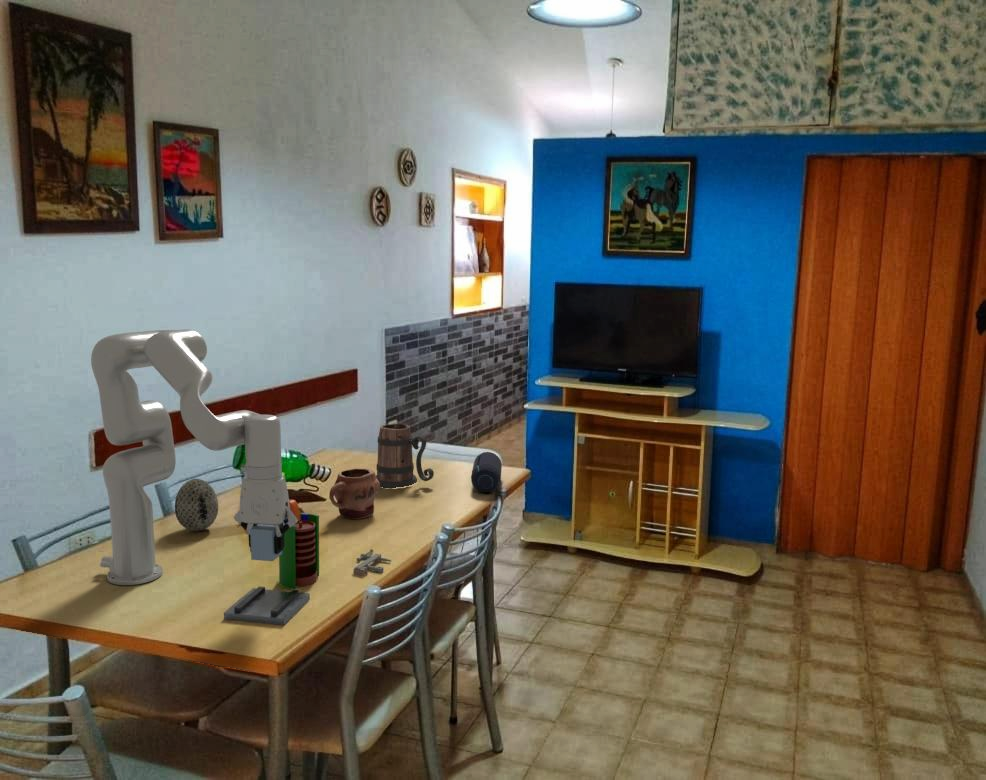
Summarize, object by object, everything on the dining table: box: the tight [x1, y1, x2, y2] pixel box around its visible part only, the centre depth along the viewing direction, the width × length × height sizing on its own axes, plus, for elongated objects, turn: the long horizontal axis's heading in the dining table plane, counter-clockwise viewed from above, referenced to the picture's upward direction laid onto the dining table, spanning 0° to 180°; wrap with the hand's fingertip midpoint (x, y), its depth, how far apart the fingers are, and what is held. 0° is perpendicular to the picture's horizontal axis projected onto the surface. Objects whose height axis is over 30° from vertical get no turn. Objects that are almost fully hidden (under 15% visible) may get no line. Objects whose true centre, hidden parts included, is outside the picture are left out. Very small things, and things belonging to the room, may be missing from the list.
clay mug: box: [328, 468, 381, 520], centre depth 257 cm, size 20×12×14 cm, turn 152°
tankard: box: [375, 423, 435, 489], centre depth 294 cm, size 24×17×20 cm
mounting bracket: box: [223, 586, 311, 626], centre depth 191 cm, size 14×14×2 cm
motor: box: [278, 499, 320, 590], centre depth 207 cm, size 10×9×20 cm
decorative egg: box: [174, 478, 219, 532], centre depth 243 cm, size 12×12×15 cm
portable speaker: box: [470, 451, 502, 493], centre depth 294 cm, size 25×10×10 cm, turn 179°
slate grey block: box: [250, 524, 282, 562], centre depth 190 cm, size 5×7×7 cm
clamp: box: [353, 548, 392, 577], centre depth 219 cm, size 15×2×10 cm
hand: (266, 550), depth 189 cm, fingers closed on slate grey block, 5 cm apart
